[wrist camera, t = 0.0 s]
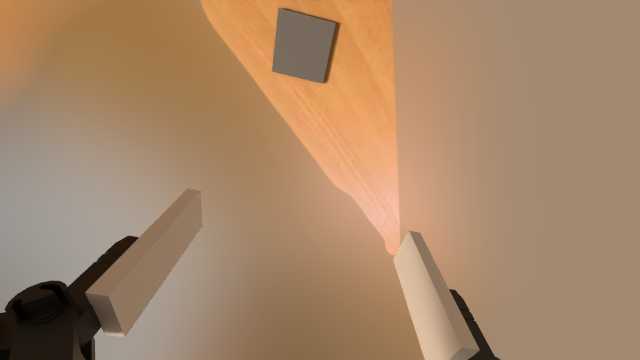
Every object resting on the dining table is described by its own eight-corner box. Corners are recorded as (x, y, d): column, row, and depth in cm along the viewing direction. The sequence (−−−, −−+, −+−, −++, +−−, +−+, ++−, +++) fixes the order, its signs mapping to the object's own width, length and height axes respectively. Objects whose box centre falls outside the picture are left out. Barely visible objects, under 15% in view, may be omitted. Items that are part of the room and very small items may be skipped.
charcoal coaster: (279, 8, 32) (278, 7, 31) (335, 23, 32) (335, 23, 32) (272, 70, 36) (272, 71, 35) (323, 83, 36) (323, 83, 36)
